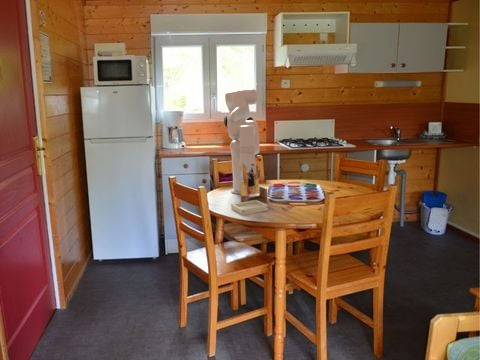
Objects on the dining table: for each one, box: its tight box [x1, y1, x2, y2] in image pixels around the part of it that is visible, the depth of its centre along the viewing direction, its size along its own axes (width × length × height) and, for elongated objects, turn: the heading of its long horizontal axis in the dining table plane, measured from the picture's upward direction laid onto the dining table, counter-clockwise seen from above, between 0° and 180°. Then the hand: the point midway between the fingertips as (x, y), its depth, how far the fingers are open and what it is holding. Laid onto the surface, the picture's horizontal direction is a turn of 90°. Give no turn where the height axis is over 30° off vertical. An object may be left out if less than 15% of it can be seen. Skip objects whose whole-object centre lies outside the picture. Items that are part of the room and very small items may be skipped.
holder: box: [240, 186, 268, 203], centre depth 236 cm, size 7×13×7 cm, turn 117°
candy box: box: [239, 163, 260, 196], centre depth 220 cm, size 9×4×15 cm, turn 119°
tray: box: [230, 200, 270, 216], centre depth 223 cm, size 13×15×3 cm
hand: (248, 184), depth 220 cm, fingers closed on candy box, 4 cm apart
